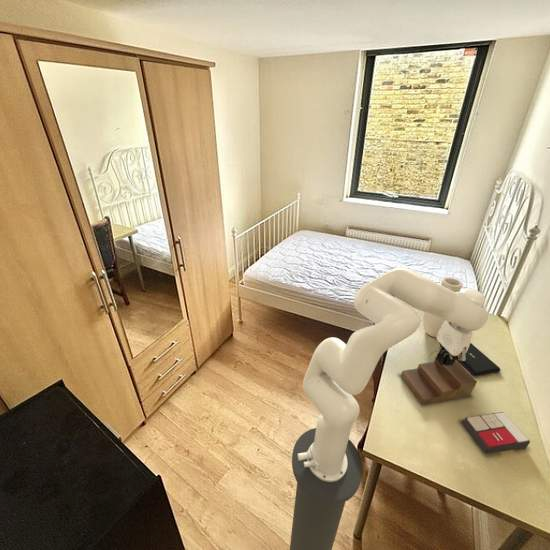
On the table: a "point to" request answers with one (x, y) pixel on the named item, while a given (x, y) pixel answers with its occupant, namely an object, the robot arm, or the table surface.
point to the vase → (434, 322)
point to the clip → (442, 357)
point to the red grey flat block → (495, 433)
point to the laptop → (478, 362)
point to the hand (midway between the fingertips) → (444, 360)
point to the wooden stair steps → (439, 382)
